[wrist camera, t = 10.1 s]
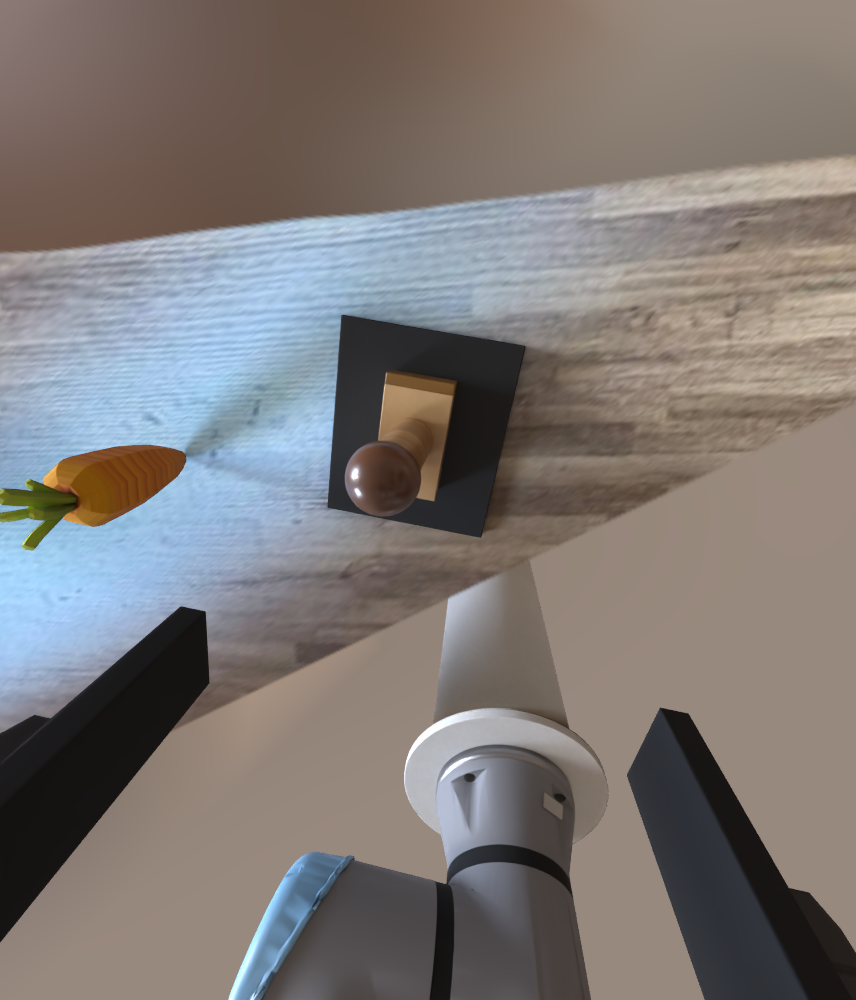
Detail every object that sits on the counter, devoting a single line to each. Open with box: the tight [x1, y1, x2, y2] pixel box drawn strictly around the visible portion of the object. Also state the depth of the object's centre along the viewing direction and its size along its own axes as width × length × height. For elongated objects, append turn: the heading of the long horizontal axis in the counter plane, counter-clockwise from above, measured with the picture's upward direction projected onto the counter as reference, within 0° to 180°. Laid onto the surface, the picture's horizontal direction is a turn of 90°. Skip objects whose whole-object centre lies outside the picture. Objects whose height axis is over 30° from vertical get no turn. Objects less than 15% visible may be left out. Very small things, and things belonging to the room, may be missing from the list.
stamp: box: [345, 370, 457, 516], centre depth 26 cm, size 9×5×14 cm, turn 171°
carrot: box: [0, 445, 186, 551], centre depth 30 cm, size 5×5×15 cm
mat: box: [328, 315, 525, 538], centre depth 33 cm, size 16×14×1 cm
